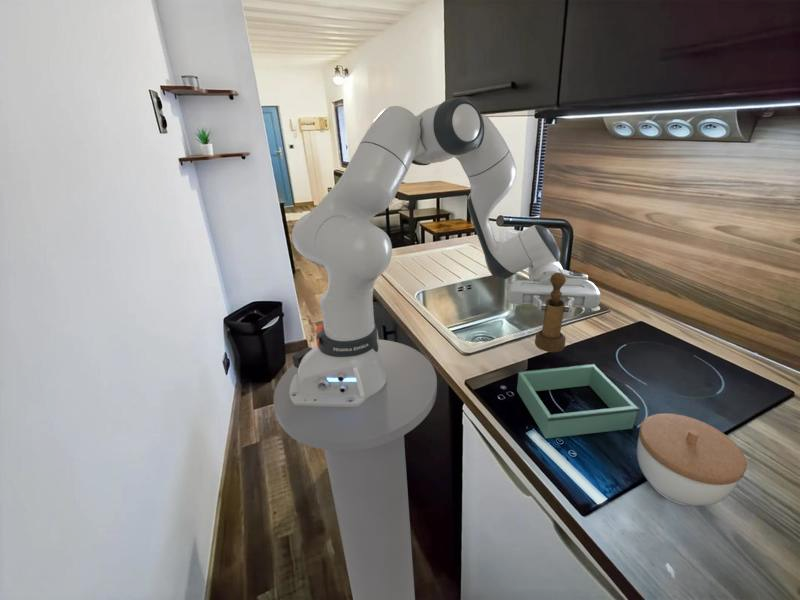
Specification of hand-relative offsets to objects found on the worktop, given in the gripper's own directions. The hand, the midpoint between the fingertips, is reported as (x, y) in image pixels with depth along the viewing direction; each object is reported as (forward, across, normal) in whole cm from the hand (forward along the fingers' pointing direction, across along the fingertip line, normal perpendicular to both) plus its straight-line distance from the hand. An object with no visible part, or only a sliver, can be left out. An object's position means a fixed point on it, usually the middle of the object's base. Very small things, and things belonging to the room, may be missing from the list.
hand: (555, 308), depth 81 cm
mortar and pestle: (-1, 0, +10) cm, 10 cm away
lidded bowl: (+29, +16, +16) cm, 37 cm away
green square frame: (+14, +3, +16) cm, 21 cm away
